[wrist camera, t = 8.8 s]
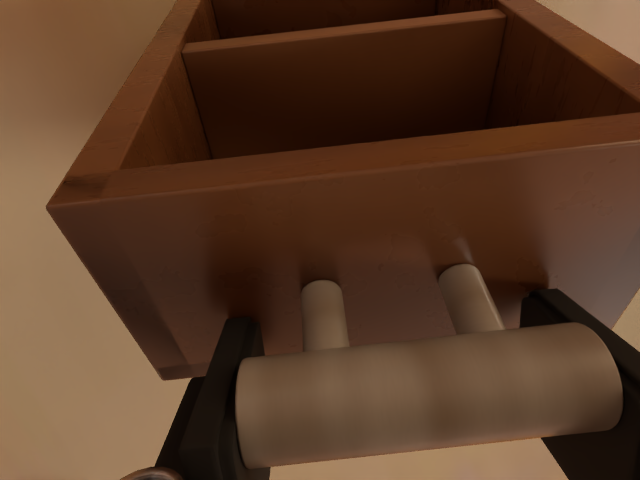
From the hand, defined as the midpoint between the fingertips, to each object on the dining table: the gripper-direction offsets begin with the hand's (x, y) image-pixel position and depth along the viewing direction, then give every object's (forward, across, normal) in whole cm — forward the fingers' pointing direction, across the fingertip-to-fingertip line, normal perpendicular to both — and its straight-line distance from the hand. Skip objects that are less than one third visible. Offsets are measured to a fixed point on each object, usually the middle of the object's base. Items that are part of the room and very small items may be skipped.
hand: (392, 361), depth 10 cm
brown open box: (+14, 0, -9) cm, 17 cm away
